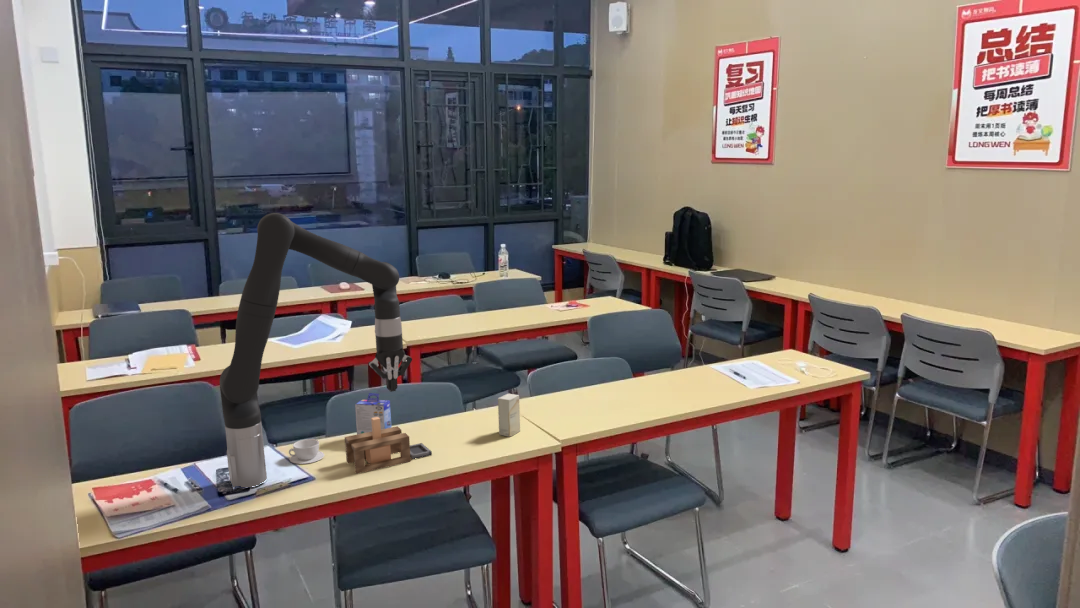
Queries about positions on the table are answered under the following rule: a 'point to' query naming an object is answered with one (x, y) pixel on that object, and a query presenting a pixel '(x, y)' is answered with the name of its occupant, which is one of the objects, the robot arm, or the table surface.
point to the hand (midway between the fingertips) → (392, 390)
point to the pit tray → (419, 451)
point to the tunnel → (365, 441)
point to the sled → (378, 452)
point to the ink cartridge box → (372, 413)
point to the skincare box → (509, 414)
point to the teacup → (306, 451)
